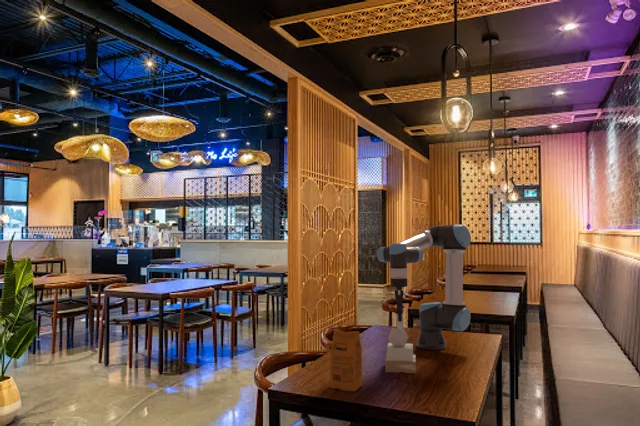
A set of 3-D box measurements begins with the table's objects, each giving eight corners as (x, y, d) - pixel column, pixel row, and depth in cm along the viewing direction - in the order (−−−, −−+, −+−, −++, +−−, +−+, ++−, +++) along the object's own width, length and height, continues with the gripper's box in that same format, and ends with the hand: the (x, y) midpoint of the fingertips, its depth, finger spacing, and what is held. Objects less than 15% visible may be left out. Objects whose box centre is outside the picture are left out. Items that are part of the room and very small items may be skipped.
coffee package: (337, 381, 181) (337, 326, 183) (365, 386, 175) (364, 329, 177) (325, 388, 173) (325, 331, 174) (354, 393, 167) (353, 334, 168)
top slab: (388, 353, 206) (388, 342, 206) (413, 354, 204) (412, 343, 204) (387, 360, 195) (386, 348, 196) (412, 361, 193) (412, 349, 193)
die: (403, 350, 193) (413, 331, 197) (385, 339, 195) (396, 321, 199) (400, 353, 201) (410, 334, 204) (383, 343, 203) (393, 324, 206)
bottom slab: (387, 364, 206) (386, 353, 207) (415, 365, 204) (415, 354, 204) (385, 372, 194) (385, 360, 194) (416, 374, 191) (415, 362, 192)
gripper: (390, 275, 213) (392, 320, 212) (389, 280, 189) (391, 331, 187) (406, 275, 212) (408, 320, 211) (407, 280, 187) (409, 331, 186)
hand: (400, 325), depth 199 cm, fingers open, 13 cm apart
